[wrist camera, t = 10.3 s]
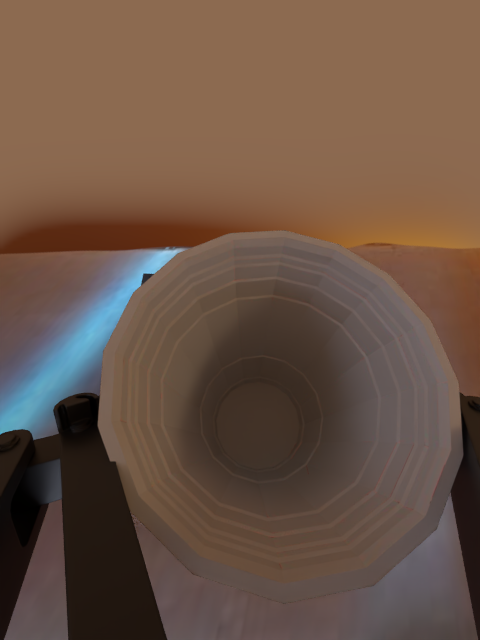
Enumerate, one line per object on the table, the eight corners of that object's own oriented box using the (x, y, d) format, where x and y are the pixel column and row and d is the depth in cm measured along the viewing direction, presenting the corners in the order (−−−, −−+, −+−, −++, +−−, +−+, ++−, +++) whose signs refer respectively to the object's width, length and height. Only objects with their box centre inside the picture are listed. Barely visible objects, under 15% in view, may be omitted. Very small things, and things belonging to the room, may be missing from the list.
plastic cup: (310, 567, 16) (457, 760, 5) (143, 466, 18) (4, 455, 7) (364, 387, 20) (502, 291, 10) (226, 325, 22) (213, 191, 12)
